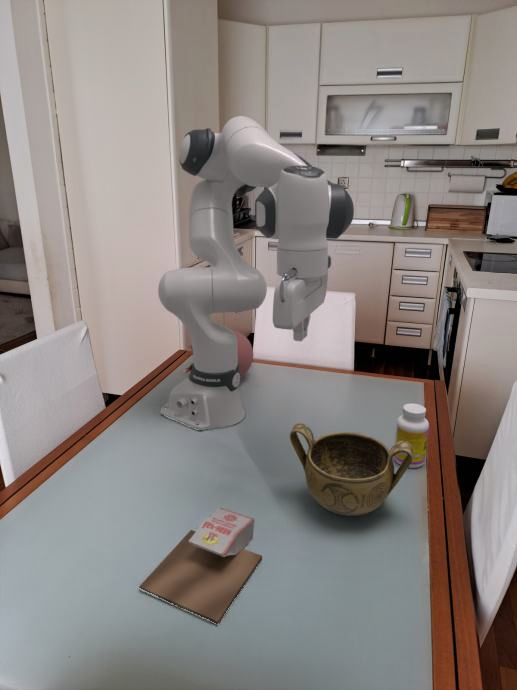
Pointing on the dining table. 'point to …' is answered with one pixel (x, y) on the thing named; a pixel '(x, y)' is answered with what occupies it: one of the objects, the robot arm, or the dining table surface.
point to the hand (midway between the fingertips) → (300, 338)
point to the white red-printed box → (224, 533)
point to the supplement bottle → (413, 433)
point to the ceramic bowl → (349, 469)
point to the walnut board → (201, 578)
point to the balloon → (242, 353)
